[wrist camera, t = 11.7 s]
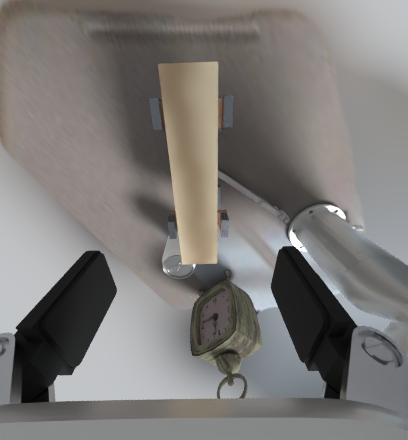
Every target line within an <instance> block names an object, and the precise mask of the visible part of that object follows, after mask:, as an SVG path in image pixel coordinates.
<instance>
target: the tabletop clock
mask: <svg viewBox="0 0 408 440" xmlns="http://www.w3.org/2000/svg"><path fill="white" fill-rule="evenodd" d="M225 275H226V276H227V280H223V281H221V282H219V283H218V284H216V285H215V286H213V287H211V288H210V289H209V290H207V291H206V292H205V293H204V292H203V291H199V296H200V297H199V298H198V299H197V301H196V302H195V303H194V307H193V311H192V318H191V331H190V332H191V335H190V336H191V337H190V340H191V341H190V343H191V351H192V355H193V356H195V357H197V358H199V359H201V360H203V361H206V362H208V363H210V364H212V365H215V366H217V367H218V369H219V371H220V372H221V373H223V374H225V375H227V377H226V378H224V379H223V380H222V382H221V383H220V385H219V387H218V391H217V398H218V399H220V395H219V393H220V389H221V388H222V386H223V385H224V384H225V383H226V382H228V385H229V386H232V385H233V384H234V382H233V379H235V378H241V379H242V380H243V381H244V384H245V387H244V391H243V393H242V395H241V397H240V398H245V396H246V393H247V381H246V379H245V377H244V376H242V375H241V374H237V372H238V370H239V369H240V366H241V360H242V359H244V358H246V357H248V356H250V355H251V354H253V353H255V352H256V351H257V350H258V349H259V348H260V347H261V345H262V342H261V341H262V340H261V339H262V338H261V332H260V327H259V323H258V319H257V314H256V311H255V308H254V306H253V303H252V300H251V298H250V297H249V295H248V294H247V293H246V292H245V291H243V290H242V289H240V288H239V287H237V286H236V285H235V284H233V283H232V282H230V279H229V277H230V276H231V272H230V271H226V272H225Z"/></svg>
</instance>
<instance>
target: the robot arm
mask: <svg viewBox="0 0 408 440" xmlns="http://www.w3.org/2000/svg"><path fill="white" fill-rule="evenodd" d="M362 230H363V227H362V226H361V225H354V226H352V225H351V224H350V223H348V222H347V221H346V217H345V214H344V213H343V211H342V210H341V209H339V208H338V207H336V206H334V205H331V204H317V205H313V206H310V207H308V208H306V209H304V210H303V211H301V212H300V213H299V214H298V215H297V216H296V217H295V218H294V219H293V221H292V222H291V224H290V226H289V230H288V237H289V240H290V242H291V243H292V244H293V246H284V247H283V248H282V249H280V250H279V252H278V256H277V261H276V265H275V269H274V274H273V278H272V283H271V290H272V293H273V295H274V298H275V300H276V303H277V305H278V308H279V310H280V312H281V315H282V317H283V320H284V322H285V324H286V327H287V329H288V332H289V334H290V337H291V339H292V341H293V344H294V346H295V349H296V351H297V354H298V356H299V358H300V360H301V361H302V362H303V363H305V364H306V366H307V369H308V371H319V373H320V375H321V377H322V379H323V380H324V383H323V388H322V393H321V398H236V399H169V400H114V401H113V400H112V401H66V402H55V391H54V381H55V379H56V377H57V375H72V373H73V371H74V369H75V368H76V366H78V365H79V364H80V363H81V362H82V359H83V358H84V356H85V354H86V352H87V350H88V348H89V346H90V344H91V342H92V340H93V338H94V336H95V334H96V332H97V330H98V328H99V326H100V324H101V322H102V321H103V319H104V317H105V315H106V313H107V311H108V309H109V307H110V305H111V303H112V301H113V299H114V297H115V295H116V292H117V288H116V285H115V283H114V280H113V278H112V275H111V272H110V269H109V267H108V264H107V261H106V259H105V256H104V254H102V253H101V252H100V251H86V252H85V253H84V254H83V255H82V256H81V257H80V258H79V259H78V260H77V261H76V263H75V264H74V265H73V266H72V267H71V268H70V269H69V270H68V271H67V272H66V274H64V276H63V277H62V278H61V279H60V280H59V281H58V282H57V283H56V284H55V285H54V286H53V288H52V289H51V290H50V291H49V292H48V293H47V294H46V295H45V296H44V297H43V299H42V300H41V301H40V302H39V303H38V304H37V305H36V306H35V307H34V308H33V309H32V310H31V311H30V313H29V314H28V315H27V316H26V317H25V318H24V319H23V320H22V321H21V322H20V323H19V325H18V326H17V327H16V329H17V330H18V331H17V332H16V333H15V334H14V335H13V334H12V333H2V334H0V440H408V265H407V264H405V263H404V262H403V261H401V260H400V259H398V258H396V257H395V256H394V255H392V254H390V253H389V252H387V251H386V250H385V249H383V248H382V247H380V246H379V245H378V244H376V243H375V242H373V241H372V240H370V239H369V238H367V237H366V236H365V235H363V234H362V233H360V232H359V231H362ZM298 249H299V250H302V251H307V252H308V253H309V255H310V256H311V257H312V258H313V259H314V261H315V262H316V263H317V264H318V266H319V267H320V268H321V269H322V270H323V272H324V273H325V274H326V275H327V277H328V278H329V279H330V280H331V281H332V283H333V284H334V285H335V286H336V287H337V289H338V290H339V291H340V292H341V293H342V295H343V296H344V297H345V298H346V299H347V300H348V301H349V302H350V303H351V304H352V305H353V306H355V307H356V308H358V309H360V310H362V311H364V312H366V313H369V314H371V315H374V316H378V317H381V318H384V319H388V320H390V324H389V325H388V326H387V327H385V328H384V329H382V330H381V331H379V330H377V329H374V328H372V327H367V326H357V325H356V324H355V323H354V321H353V320H352V319H351V317H350V316H349V315H348V313H347V312H346V311H345V310H344V308H343V307H342V306H341V304H340V303H339V301H338V300H337V299H336V298H335V296H334V295H333V294H332V292H331V291H330V290H329V288H328V287H327V286H326V284H325V283H324V282H323V281H322V279H321V278H320V277H319V275H318V274H317V273H316V272H315V271H314V270H313V269H312V267H311V266H310V265H309V263H308V262H307V261H306V259H305V258H304V257H303V255H302V254H301V253H300V252H299V250H298Z"/></svg>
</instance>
